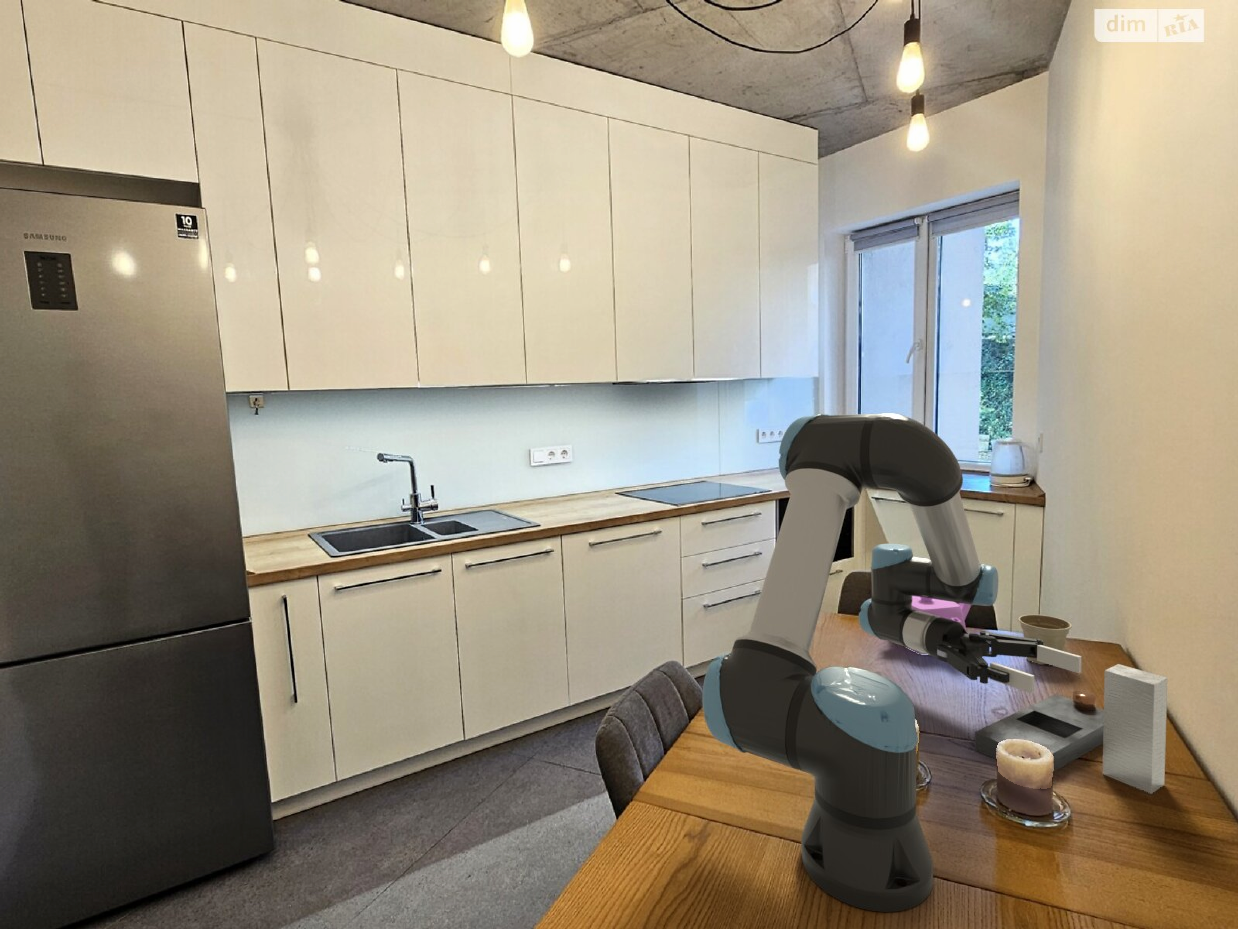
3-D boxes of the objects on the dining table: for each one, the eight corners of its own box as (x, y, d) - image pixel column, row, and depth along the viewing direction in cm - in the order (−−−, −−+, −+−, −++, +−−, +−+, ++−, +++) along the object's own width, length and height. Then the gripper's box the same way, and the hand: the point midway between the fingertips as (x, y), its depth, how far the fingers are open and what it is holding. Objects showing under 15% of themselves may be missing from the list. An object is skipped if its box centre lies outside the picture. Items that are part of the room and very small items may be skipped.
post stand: (1040, 779, 95) (1040, 747, 95) (974, 749, 104) (974, 720, 103) (1122, 732, 107) (1123, 703, 107) (1057, 709, 116) (1057, 682, 115)
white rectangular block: (1151, 794, 91) (1154, 684, 89) (1102, 774, 96) (1104, 670, 94) (1164, 785, 93) (1167, 677, 91) (1115, 765, 98) (1118, 664, 96)
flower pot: (1074, 659, 137) (1075, 619, 136) (1066, 674, 130) (1067, 632, 129) (1023, 649, 143) (1023, 611, 142) (1013, 663, 136) (1013, 623, 135)
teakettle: (898, 626, 161) (897, 578, 160) (974, 639, 150) (974, 587, 149) (878, 649, 147) (877, 596, 146) (960, 664, 137) (960, 608, 136)
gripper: (976, 642, 127) (1097, 679, 108) (891, 670, 115) (1011, 717, 97) (976, 605, 126) (1098, 635, 108) (890, 629, 114) (1011, 669, 96)
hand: (1057, 674), depth 102 cm, fingers open, 13 cm apart
